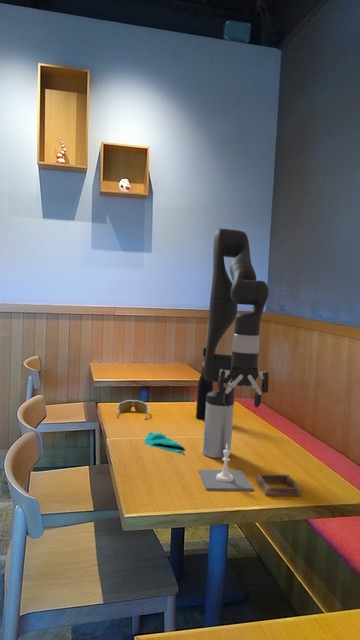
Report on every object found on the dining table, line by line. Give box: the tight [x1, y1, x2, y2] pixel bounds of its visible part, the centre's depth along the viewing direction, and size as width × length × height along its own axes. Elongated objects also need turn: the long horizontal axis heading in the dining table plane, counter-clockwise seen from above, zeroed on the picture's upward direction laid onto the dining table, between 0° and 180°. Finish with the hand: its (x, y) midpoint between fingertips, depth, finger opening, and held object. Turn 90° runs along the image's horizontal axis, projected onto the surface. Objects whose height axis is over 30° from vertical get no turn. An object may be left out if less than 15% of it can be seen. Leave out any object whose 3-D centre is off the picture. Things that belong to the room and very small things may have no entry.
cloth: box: [144, 431, 186, 456], centre depth 163 cm, size 26×14×2 cm, turn 18°
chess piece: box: [216, 444, 234, 482], centre depth 132 cm, size 5×5×10 cm
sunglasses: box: [115, 399, 150, 421], centre depth 197 cm, size 14×15×5 cm
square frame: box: [255, 474, 302, 497], centre depth 129 cm, size 10×10×2 cm
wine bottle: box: [195, 347, 214, 421], centre depth 198 cm, size 6×6×30 cm
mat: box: [198, 469, 254, 492], centre depth 132 cm, size 13×13×1 cm
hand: (241, 406), depth 133 cm, fingers open, 8 cm apart
